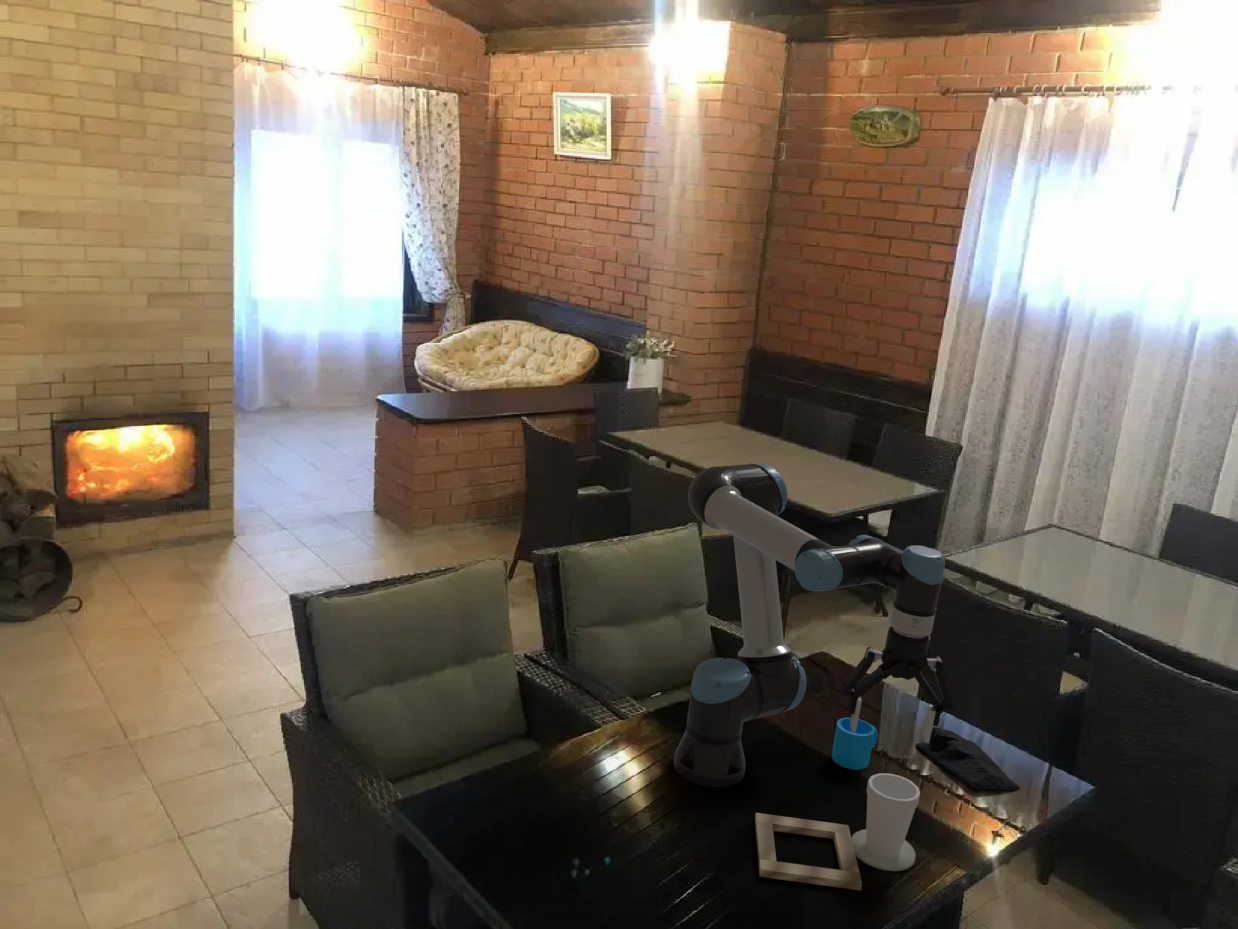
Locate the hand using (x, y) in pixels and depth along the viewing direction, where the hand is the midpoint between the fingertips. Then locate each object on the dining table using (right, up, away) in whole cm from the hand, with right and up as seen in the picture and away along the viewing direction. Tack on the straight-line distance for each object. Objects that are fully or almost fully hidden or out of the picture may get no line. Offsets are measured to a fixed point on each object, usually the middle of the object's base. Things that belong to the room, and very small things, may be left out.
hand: (889, 734), depth 193 cm
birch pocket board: (-16, -22, -1) cm, 27 cm away
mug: (+2, -15, +36) cm, 39 cm away
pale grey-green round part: (-1, -23, +2) cm, 23 cm away
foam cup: (-1, -22, +2) cm, 22 cm away
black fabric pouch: (+27, -18, +38) cm, 50 cm away
